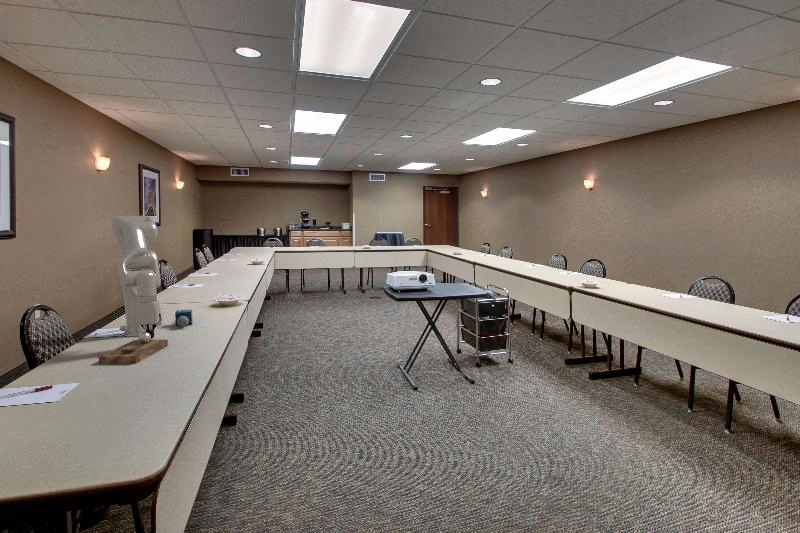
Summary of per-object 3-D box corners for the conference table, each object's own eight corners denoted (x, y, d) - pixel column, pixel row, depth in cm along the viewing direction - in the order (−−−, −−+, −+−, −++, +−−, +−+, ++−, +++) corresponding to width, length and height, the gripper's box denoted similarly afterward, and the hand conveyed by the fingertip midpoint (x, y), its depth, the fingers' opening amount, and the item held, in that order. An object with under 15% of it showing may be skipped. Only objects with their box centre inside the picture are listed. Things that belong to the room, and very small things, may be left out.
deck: (99, 363, 173) (98, 356, 172) (135, 346, 197) (135, 339, 196) (136, 363, 173) (135, 356, 172) (168, 345, 197) (167, 339, 196)
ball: (135, 344, 189) (135, 333, 188) (142, 341, 194) (141, 330, 193) (147, 344, 189) (146, 333, 188) (153, 341, 194) (152, 330, 193)
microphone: (193, 305, 250) (190, 314, 227) (194, 318, 251) (191, 328, 228) (178, 306, 247) (173, 315, 224) (179, 319, 248) (174, 330, 225)
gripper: (125, 300, 190) (129, 341, 192) (159, 300, 190) (162, 340, 192) (135, 297, 197) (139, 336, 199) (168, 297, 197) (171, 336, 199)
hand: (150, 338), depth 195 cm, fingers closed
